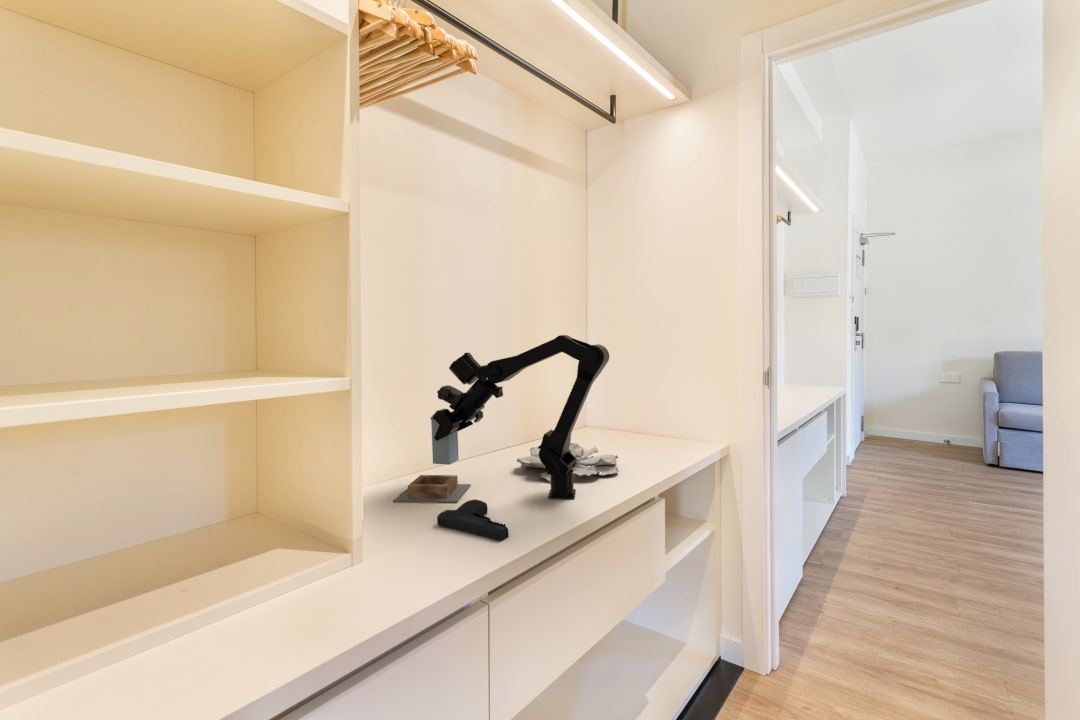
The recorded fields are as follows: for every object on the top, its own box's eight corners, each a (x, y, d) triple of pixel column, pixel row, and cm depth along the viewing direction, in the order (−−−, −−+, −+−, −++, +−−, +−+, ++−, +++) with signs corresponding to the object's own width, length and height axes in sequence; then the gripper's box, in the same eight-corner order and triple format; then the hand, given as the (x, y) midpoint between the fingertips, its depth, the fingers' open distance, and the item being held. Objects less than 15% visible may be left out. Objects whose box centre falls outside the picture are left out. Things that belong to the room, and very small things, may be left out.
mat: (470, 485, 140) (470, 484, 140) (456, 503, 126) (456, 501, 126) (413, 485, 141) (413, 483, 141) (393, 502, 127) (393, 500, 127)
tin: (459, 460, 142) (457, 414, 141) (449, 464, 137) (448, 417, 136) (442, 458, 143) (440, 413, 143) (432, 463, 138) (430, 417, 138)
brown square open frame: (457, 486, 138) (457, 475, 138) (447, 498, 128) (446, 486, 128) (421, 486, 139) (420, 475, 139) (408, 497, 129) (407, 485, 129)
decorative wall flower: (624, 459, 139) (512, 460, 140) (624, 485, 139) (512, 485, 140) (613, 436, 169) (520, 436, 170) (613, 457, 169) (521, 457, 170)
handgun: (532, 526, 112) (499, 546, 102) (469, 511, 121) (433, 528, 111) (532, 511, 111) (498, 530, 101) (469, 497, 121) (432, 513, 111)
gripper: (471, 372, 146) (438, 410, 150) (438, 378, 129) (401, 421, 133) (498, 400, 144) (464, 438, 148) (467, 411, 126) (429, 453, 131)
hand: (440, 437), depth 140 cm, fingers closed on tin, 5 cm apart
